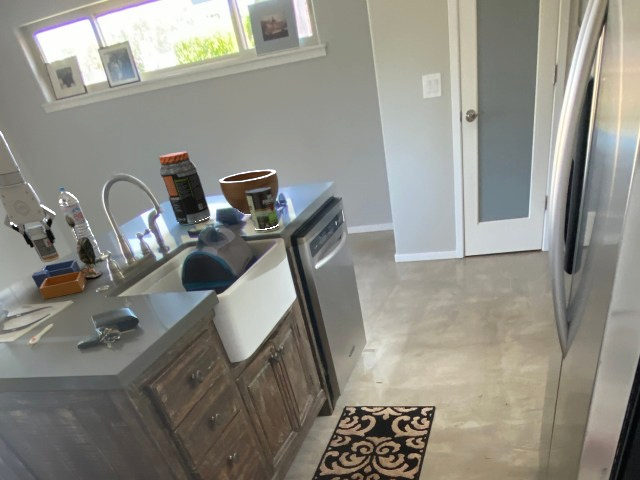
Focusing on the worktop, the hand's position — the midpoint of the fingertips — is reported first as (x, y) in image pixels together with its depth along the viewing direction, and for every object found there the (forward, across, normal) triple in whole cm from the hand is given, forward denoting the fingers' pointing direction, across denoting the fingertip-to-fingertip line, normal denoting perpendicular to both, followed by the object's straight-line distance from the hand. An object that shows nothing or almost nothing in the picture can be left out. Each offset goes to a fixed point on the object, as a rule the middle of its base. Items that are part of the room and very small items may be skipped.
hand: (43, 244), depth 168 cm
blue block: (+15, -8, +10) cm, 19 cm away
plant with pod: (+15, +8, +12) cm, 21 cm away
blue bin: (+15, -4, +20) cm, 25 cm away
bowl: (+15, +75, +60) cm, 97 cm away
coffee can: (+15, +75, +29) cm, 82 cm away
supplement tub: (+15, +47, +74) cm, 89 cm away
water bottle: (+15, +6, +35) cm, 38 cm away
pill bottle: (+5, 0, 0) cm, 5 cm away
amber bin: (+15, 0, 0) cm, 15 cm away
